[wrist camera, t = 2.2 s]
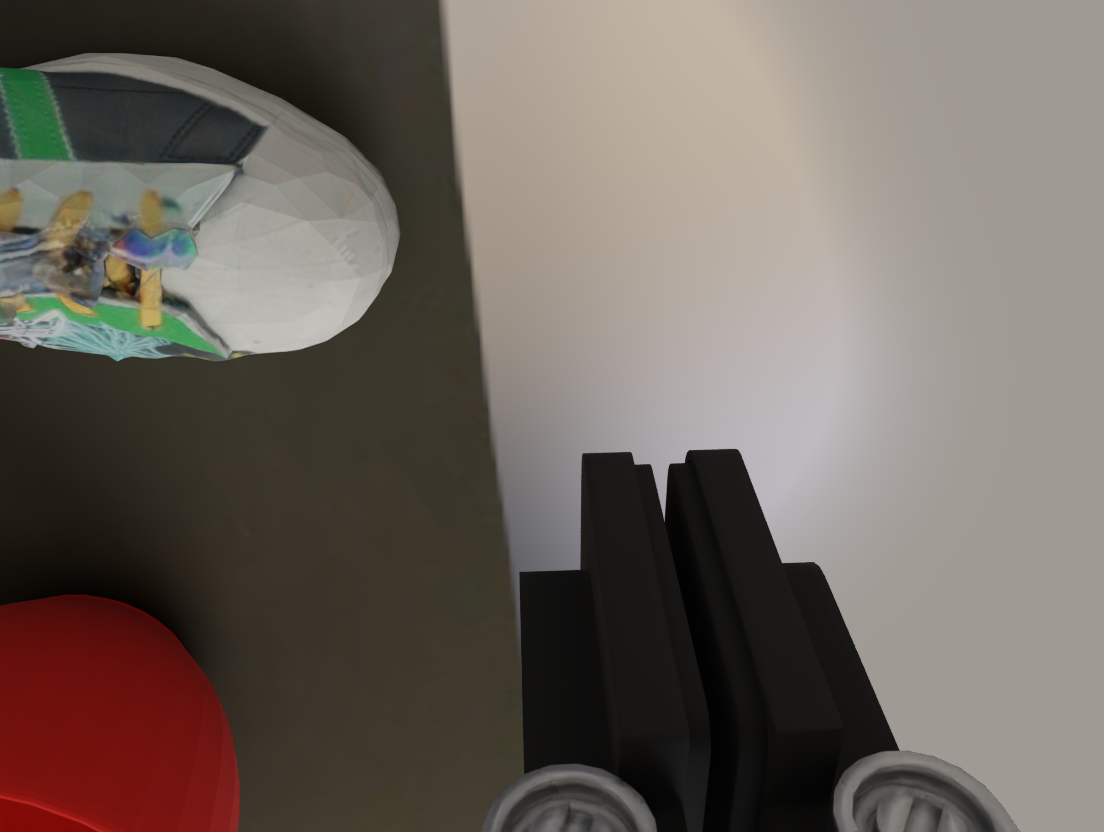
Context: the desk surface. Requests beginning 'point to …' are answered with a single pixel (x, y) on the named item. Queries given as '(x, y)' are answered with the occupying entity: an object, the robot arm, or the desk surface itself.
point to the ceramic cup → (108, 724)
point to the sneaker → (179, 213)
